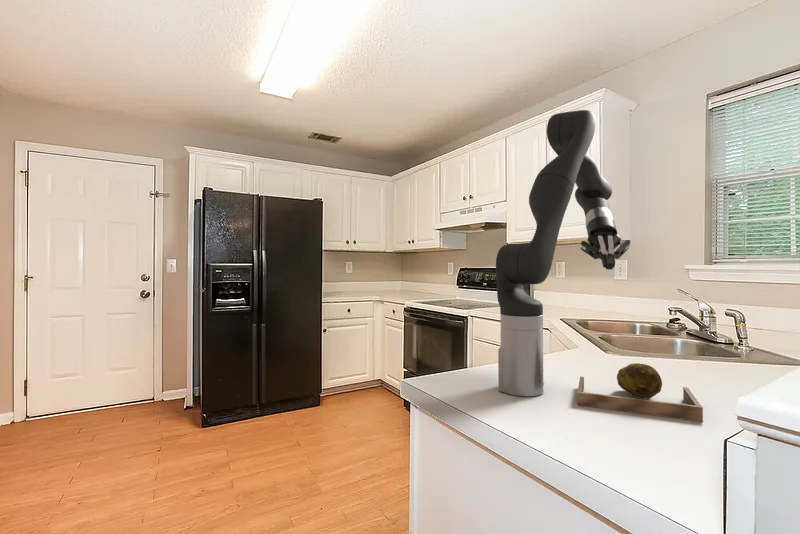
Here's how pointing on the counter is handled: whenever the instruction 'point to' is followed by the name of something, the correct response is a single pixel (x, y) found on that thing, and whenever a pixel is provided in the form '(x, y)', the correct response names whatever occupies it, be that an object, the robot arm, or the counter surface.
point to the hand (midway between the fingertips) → (609, 267)
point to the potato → (639, 380)
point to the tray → (643, 404)
